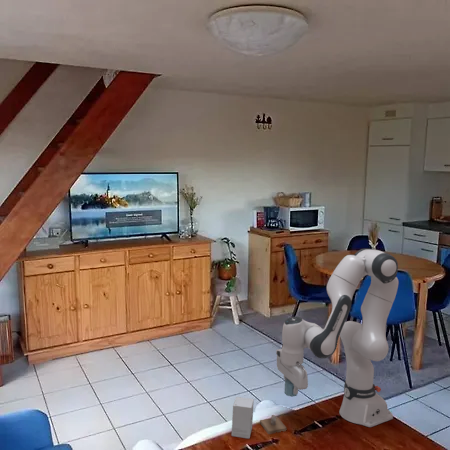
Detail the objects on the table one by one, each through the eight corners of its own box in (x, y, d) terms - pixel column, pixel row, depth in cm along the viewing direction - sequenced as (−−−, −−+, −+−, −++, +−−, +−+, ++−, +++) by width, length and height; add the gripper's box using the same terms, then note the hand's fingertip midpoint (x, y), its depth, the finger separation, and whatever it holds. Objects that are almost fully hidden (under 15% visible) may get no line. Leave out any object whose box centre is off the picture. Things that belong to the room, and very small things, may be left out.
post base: (277, 420, 186) (278, 409, 186) (286, 430, 179) (287, 420, 178) (259, 423, 184) (260, 412, 183) (268, 434, 176) (268, 423, 176)
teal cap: (293, 389, 187) (294, 378, 186) (299, 395, 182) (300, 383, 182) (282, 391, 185) (283, 379, 185) (288, 397, 181) (288, 385, 180)
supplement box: (249, 439, 173) (251, 408, 171) (231, 436, 174) (232, 405, 172) (252, 428, 180) (254, 398, 178) (234, 425, 181) (235, 396, 180)
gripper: (312, 367, 173) (311, 400, 175) (287, 346, 192) (286, 377, 194) (298, 369, 171) (296, 403, 173) (274, 348, 190) (273, 379, 192)
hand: (291, 389), depth 184 cm, fingers closed on teal cap, 5 cm apart
